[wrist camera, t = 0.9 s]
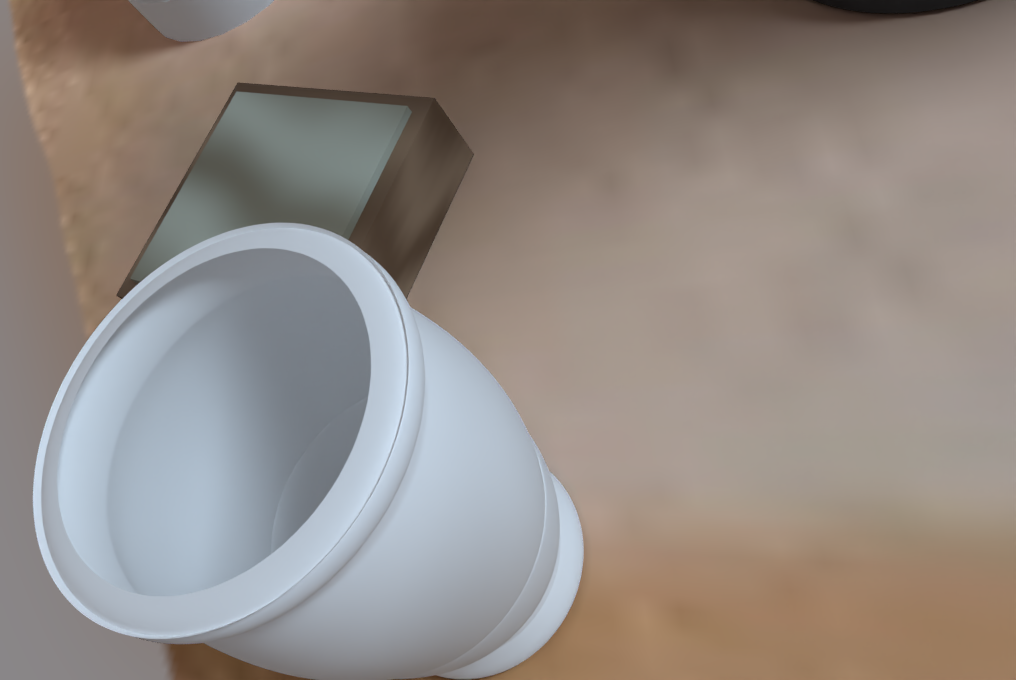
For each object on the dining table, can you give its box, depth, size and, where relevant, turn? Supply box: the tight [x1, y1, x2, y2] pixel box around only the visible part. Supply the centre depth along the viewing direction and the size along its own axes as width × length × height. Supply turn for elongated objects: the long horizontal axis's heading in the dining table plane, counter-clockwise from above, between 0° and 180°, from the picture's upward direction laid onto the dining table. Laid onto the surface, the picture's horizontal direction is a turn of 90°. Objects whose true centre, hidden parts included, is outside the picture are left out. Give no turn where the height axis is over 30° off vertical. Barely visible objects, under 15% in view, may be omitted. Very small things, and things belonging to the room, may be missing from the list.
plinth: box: [117, 83, 474, 299], centre depth 42 cm, size 12×12×4 cm
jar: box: [33, 223, 584, 680], centre depth 27 cm, size 11×10×15 cm
